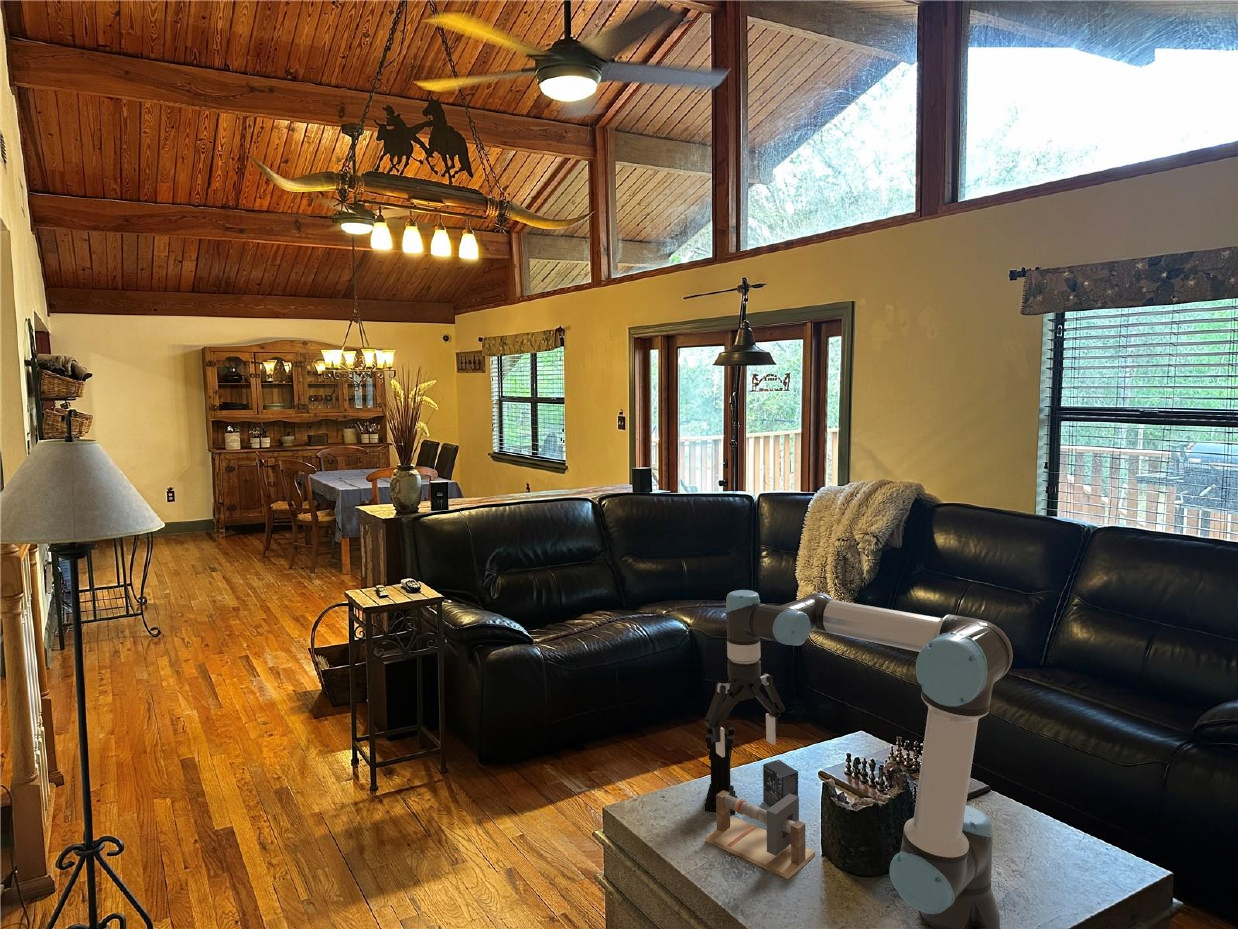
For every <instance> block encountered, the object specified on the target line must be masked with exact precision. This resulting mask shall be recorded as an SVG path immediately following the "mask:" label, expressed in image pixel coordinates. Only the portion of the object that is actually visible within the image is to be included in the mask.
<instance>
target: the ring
mask: <svg viewBox="0 0 1238 929" xmlns="http://www.w3.org/2000/svg"><path fill="white" fill-rule="evenodd" d="M766 810H767V824H766V831H767V852H768V853H771V854H773V855H775V856H777V855H778V854H779V853H780V852H782V851H783V850H784V849H785V848H787V847H788V846H789V845H790V844H791V834H789V833H787V832H784V831H783V820H784V819H789V820H791V821H794V822H796V821H797V820H798V821H800V797H799V795H798V796H795V795H793V794H790V793H789V794H788V795H787V796H785V797H784V798H783V799H781V800H780V801H778V802H777V803H776V804H774V805H773V806H772V807H771V806H770V807H769V808H768V809H766Z"/></svg>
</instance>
